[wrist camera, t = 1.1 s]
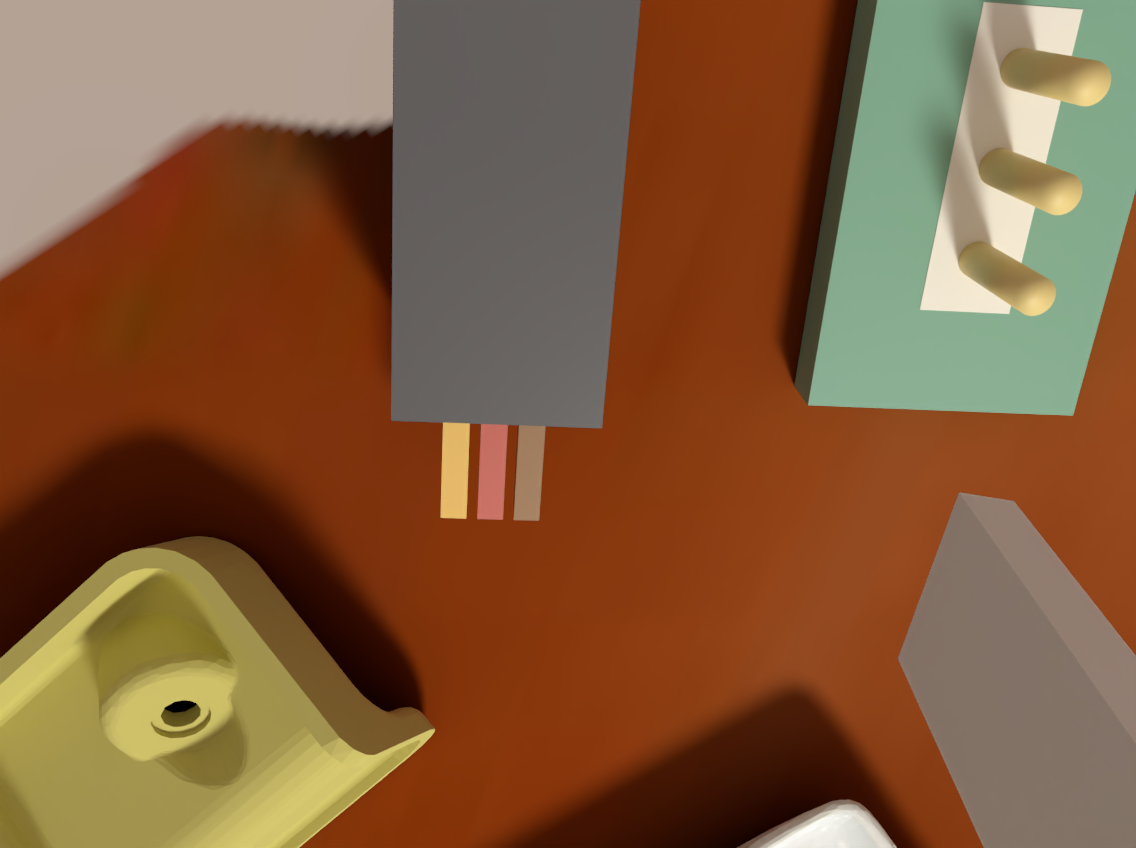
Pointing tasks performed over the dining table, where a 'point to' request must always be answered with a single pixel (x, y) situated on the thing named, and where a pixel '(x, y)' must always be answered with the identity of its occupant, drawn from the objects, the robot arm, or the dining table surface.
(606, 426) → the dining table surface
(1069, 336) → the header board
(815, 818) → the square plate
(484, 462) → the plug housing
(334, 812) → the plastic component
